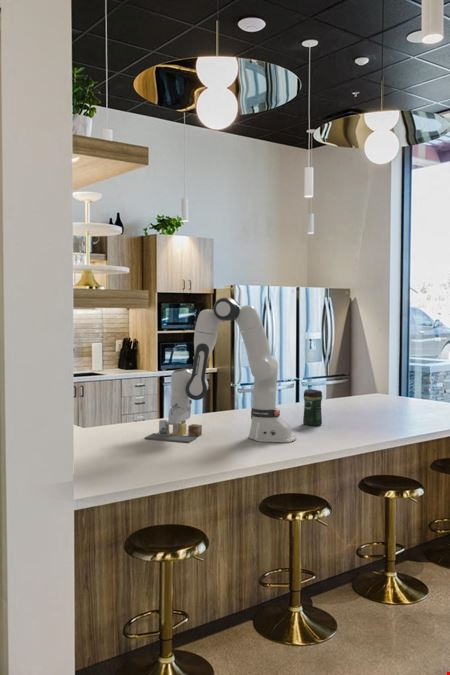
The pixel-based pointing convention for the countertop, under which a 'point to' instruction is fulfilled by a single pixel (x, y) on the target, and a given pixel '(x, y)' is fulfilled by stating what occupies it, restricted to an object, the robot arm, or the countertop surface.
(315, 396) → the coffee jar
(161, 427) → the metal canister
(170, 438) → the rubber mat
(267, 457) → the countertop surface
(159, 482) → the countertop surface
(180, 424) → the mustard block
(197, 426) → the walnut block
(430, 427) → the countertop surface
